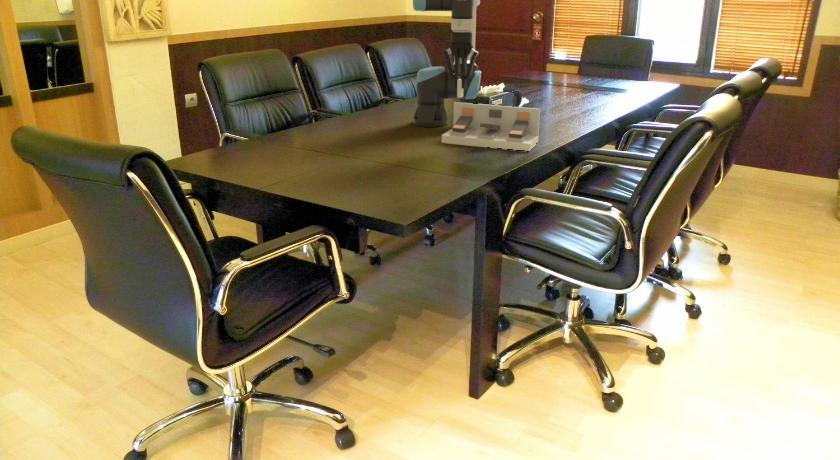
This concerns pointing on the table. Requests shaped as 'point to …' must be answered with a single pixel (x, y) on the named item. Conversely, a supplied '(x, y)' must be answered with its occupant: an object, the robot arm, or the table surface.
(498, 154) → the table surface
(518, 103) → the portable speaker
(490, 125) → the switch
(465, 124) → the switch
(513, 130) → the switch
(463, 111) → the switch unit
